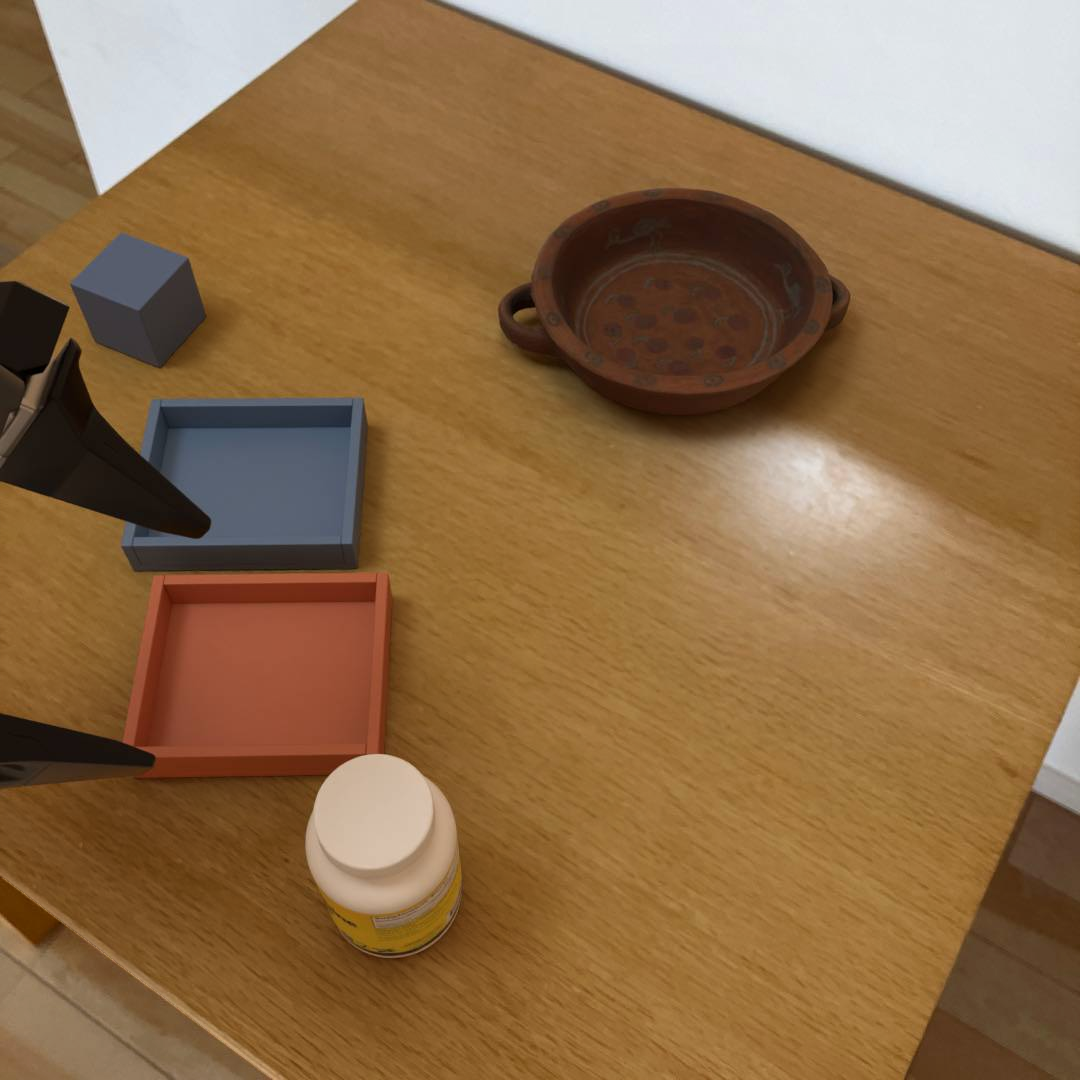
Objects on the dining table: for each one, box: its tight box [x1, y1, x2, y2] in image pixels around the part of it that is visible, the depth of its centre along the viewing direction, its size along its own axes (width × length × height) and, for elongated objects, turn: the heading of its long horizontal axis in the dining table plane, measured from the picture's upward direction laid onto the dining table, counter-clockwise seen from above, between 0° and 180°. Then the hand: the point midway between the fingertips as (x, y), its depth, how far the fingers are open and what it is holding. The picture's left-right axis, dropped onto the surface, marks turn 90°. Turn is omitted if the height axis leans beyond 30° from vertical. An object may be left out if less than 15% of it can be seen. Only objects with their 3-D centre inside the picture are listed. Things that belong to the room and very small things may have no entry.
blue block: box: [69, 232, 207, 369], centre depth 71 cm, size 5×5×5 cm
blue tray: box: [120, 397, 369, 572], centre depth 65 cm, size 12×10×2 cm
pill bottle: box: [304, 753, 463, 959], centre depth 49 cm, size 6×6×11 cm
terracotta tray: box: [121, 572, 393, 779], centre depth 59 cm, size 12×10×2 cm
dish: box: [497, 187, 851, 416], centre depth 72 cm, size 18×22×5 cm
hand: (180, 640), depth 40 cm, fingers open, 9 cm apart
